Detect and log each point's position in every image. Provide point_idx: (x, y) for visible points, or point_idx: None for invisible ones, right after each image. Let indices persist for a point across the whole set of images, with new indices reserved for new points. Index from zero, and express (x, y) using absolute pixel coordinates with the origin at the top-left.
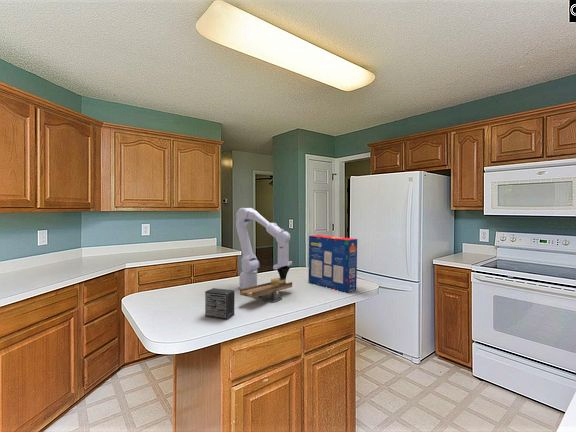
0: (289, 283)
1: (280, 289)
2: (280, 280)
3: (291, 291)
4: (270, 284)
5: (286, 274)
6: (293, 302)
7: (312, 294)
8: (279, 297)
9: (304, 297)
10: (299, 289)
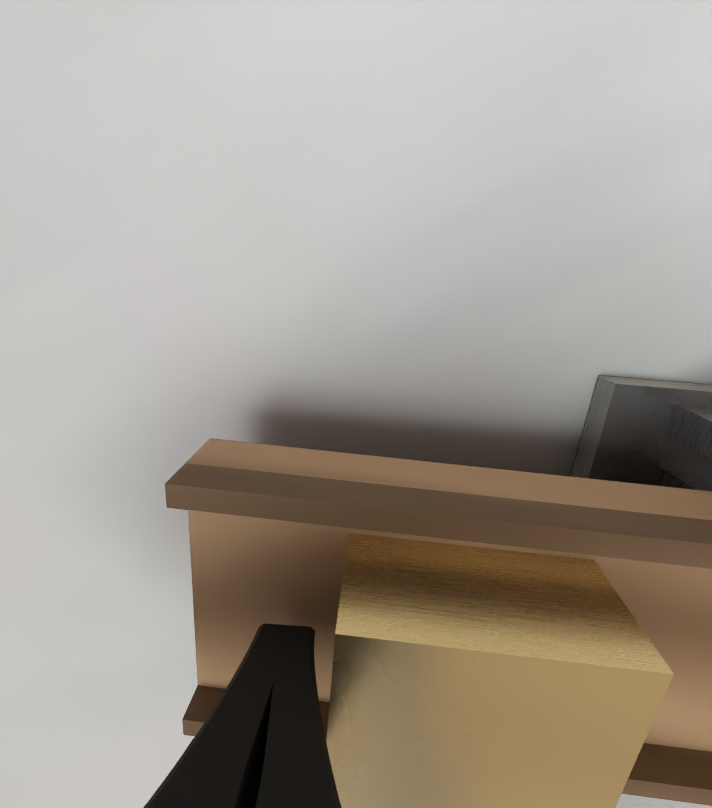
0: (288, 491)
1: (606, 487)
2: (596, 661)
3: (184, 443)
4: None
5: (194, 781)
6: (687, 132)
7: (91, 36)
8: (641, 408)
9: (343, 92)
10: (13, 393)
